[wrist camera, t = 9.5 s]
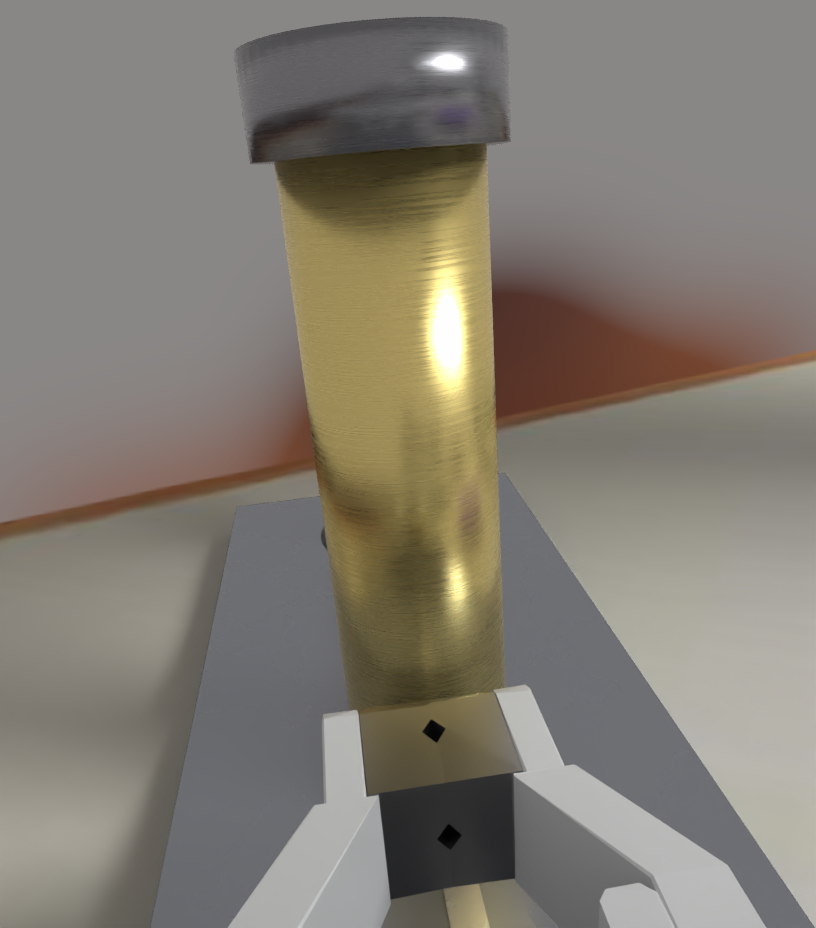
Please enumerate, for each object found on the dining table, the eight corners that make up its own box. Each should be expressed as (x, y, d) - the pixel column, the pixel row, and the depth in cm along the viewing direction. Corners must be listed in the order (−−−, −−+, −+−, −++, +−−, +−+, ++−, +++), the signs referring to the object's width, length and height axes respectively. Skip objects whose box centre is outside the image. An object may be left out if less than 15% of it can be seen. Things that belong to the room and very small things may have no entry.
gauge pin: (335, 699, 19) (244, 74, 14) (498, 674, 19) (474, 57, 14) (343, 840, 15) (218, 29, 9) (550, 805, 15) (544, 7, 10)
